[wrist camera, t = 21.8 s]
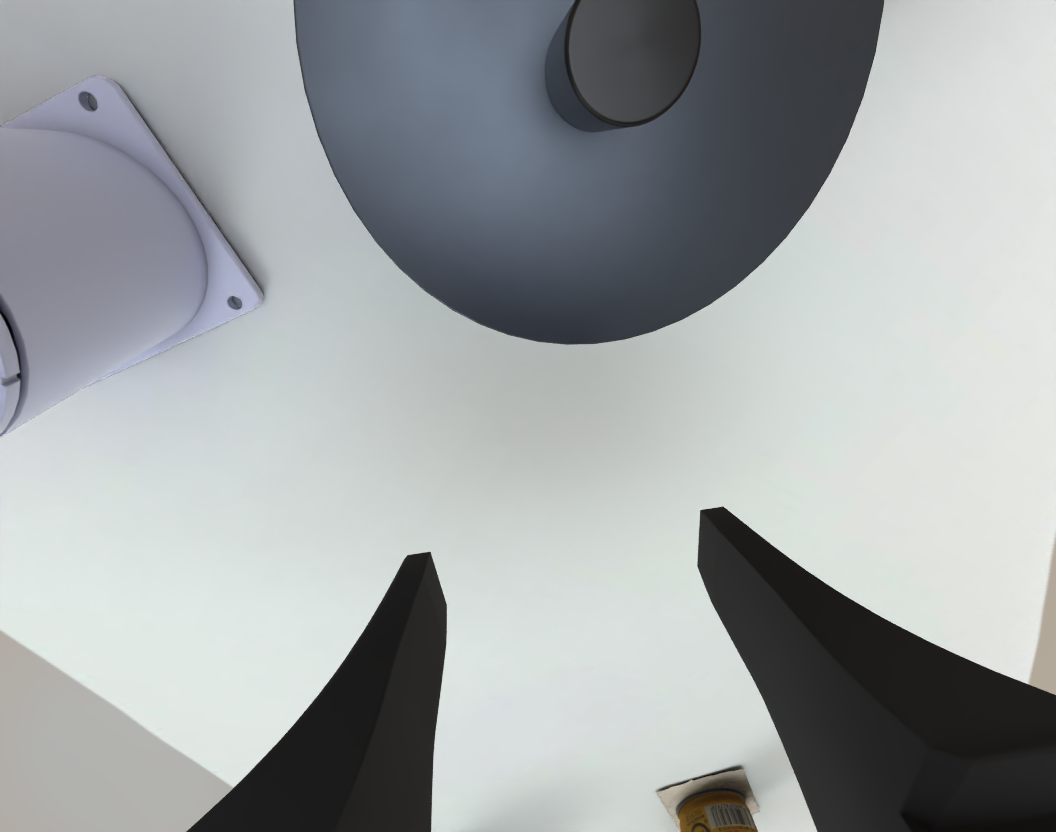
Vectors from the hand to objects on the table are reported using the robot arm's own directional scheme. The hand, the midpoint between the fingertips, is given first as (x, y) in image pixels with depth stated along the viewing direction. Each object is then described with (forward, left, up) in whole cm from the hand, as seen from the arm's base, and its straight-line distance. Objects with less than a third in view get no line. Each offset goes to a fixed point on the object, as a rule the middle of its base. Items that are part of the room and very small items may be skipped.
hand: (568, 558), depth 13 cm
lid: (+5, +10, -4) cm, 12 cm away
